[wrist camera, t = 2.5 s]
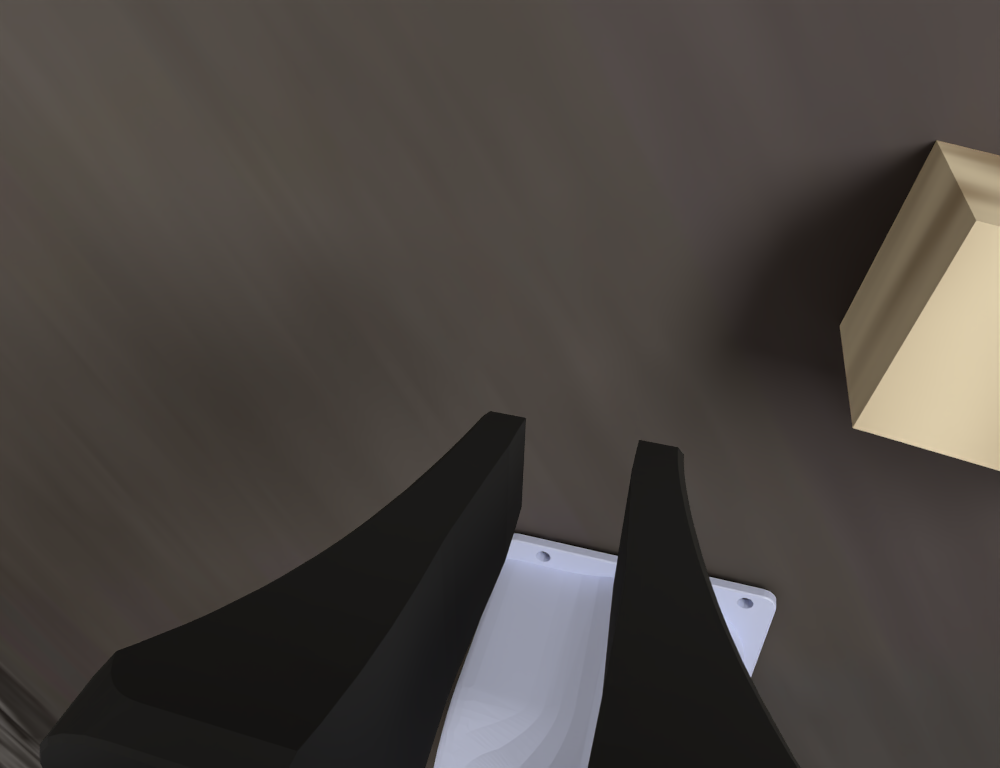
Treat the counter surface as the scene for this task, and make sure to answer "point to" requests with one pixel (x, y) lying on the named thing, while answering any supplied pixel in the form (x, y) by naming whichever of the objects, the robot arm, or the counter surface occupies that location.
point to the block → (933, 315)
